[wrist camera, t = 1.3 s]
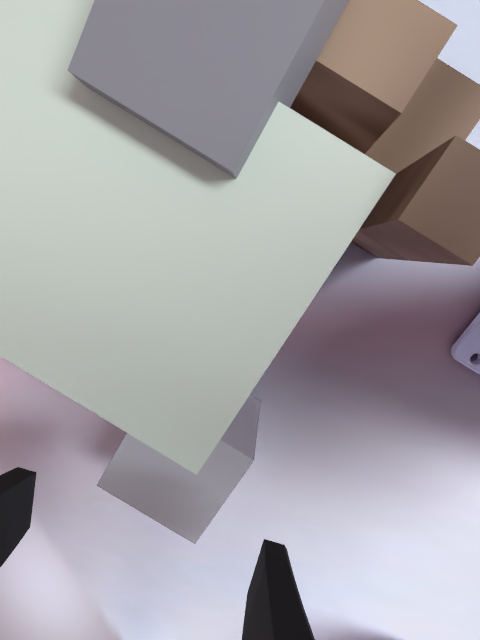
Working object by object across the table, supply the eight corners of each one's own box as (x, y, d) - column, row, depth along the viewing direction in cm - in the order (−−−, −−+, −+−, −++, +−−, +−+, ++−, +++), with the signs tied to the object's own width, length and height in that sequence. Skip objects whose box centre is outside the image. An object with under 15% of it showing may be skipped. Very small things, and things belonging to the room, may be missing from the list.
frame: (483, 104, 13) (733, -73, 6) (377, 257, 15) (472, 265, 8) (138, -112, 13) (-38, -564, 6) (68, 67, 15) (-138, -111, 7)
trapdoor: (590, -143, 8) (738, -329, 5) (208, 442, 12) (190, 493, 10) (188, -399, 8) (145, -715, 5) (-55, 283, 12) (-145, 292, 9)
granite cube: (260, 400, 17) (253, 460, 12) (217, 464, 18) (194, 543, 13) (184, 354, 17) (147, 396, 12) (145, 421, 18) (96, 485, 13)
